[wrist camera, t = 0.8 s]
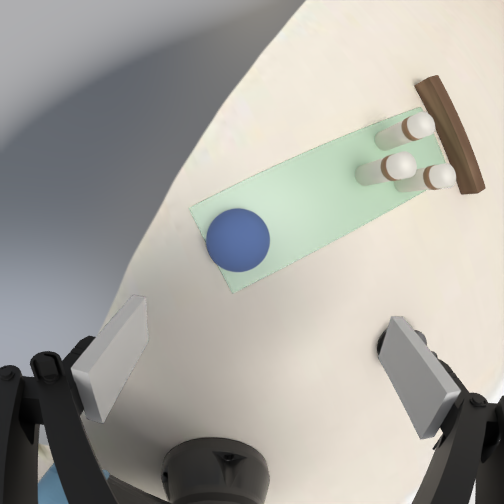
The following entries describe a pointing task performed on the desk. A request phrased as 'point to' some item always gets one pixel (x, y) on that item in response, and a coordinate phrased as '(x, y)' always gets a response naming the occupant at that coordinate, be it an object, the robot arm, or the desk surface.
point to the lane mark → (315, 197)
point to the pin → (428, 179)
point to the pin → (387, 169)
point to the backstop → (451, 134)
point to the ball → (238, 240)
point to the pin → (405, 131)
